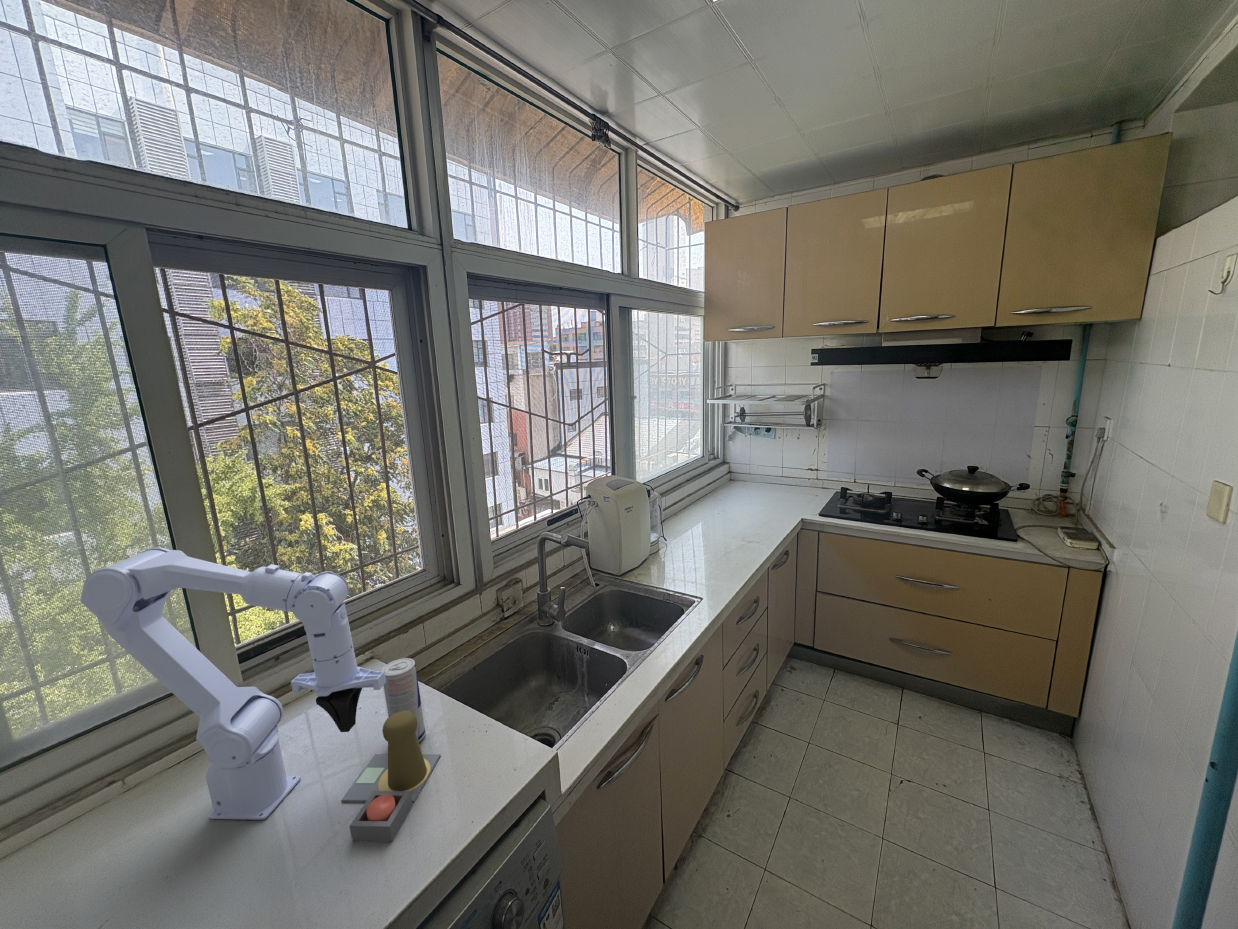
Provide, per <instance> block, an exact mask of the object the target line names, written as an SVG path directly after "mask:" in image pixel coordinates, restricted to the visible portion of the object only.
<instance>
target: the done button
mask: <svg viewBox="0 0 1238 929" xmlns="http://www.w3.org/2000/svg"><path fill="white" fill-rule="evenodd" d="M395 808H396V805H395V799H394V797H393V796H392V795H388V794H387V795H382V796H379V797H377V798H375V799H374V800H373V801H372V802H371V803H370V804H369V805H368V807H367V810H366V812H367V818H368V821H388V819H389V818H390V816H391V814H392V813H393V811H394V809H395Z"/></svg>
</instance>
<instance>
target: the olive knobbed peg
mask: <svg viewBox="0 0 1238 929" xmlns="http://www.w3.org/2000/svg"><path fill="white" fill-rule="evenodd" d="M417 724H418V723H417V718H416V716H415V714H413V713H412V712H411V711H400V712H397V713H395V714H393V715H391V716H390V717H387V719H386V720H385V721H384V723H383V725H382V735H383V738H384V740H385V742H387V754H388V787H389V788H390V789H391V790H393V791H405V790H409V789H411V788H413V787H415V786H416V785H418V784H419V783H420V782H421V781H422V780H423V779H424V777H425V776H426V773H427V768H426V765H425V761H424V758H423V755H422V754H423V752H422V748H421V746H420V742H419V743H418V739H417V736H416V733H415V732H416V729H417Z"/></svg>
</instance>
